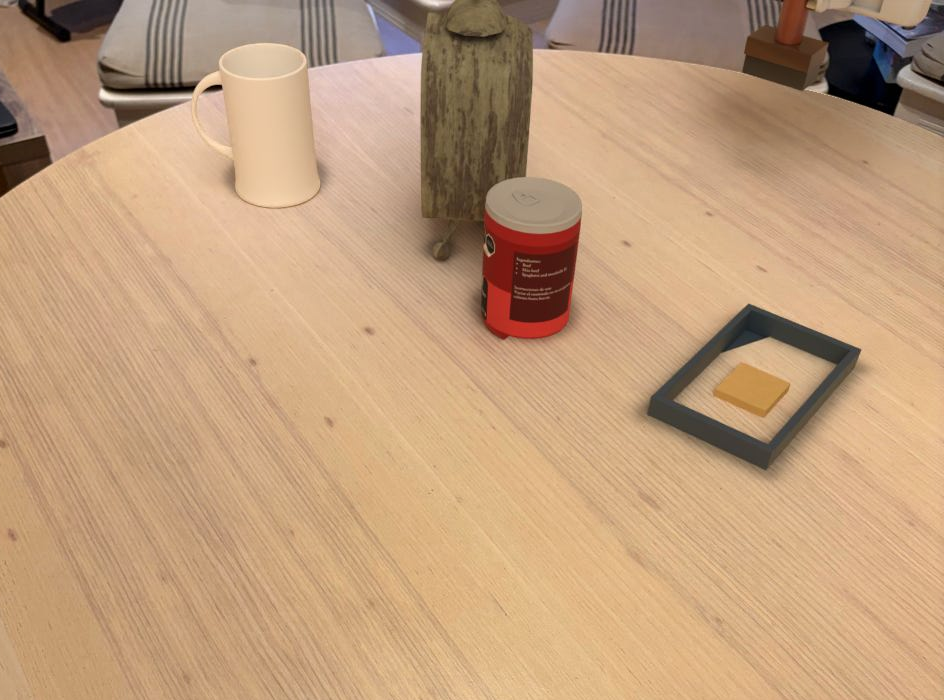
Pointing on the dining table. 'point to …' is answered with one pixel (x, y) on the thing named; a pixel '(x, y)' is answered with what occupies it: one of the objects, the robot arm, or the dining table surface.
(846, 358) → the tray
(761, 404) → the tan square tile
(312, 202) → the dining table surface
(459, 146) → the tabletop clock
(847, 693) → the dining table surface
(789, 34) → the brush
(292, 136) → the mug
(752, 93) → the dining table surface
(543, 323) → the canned food
